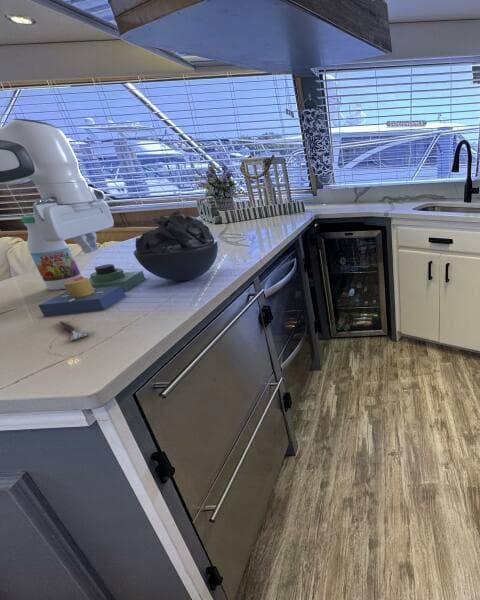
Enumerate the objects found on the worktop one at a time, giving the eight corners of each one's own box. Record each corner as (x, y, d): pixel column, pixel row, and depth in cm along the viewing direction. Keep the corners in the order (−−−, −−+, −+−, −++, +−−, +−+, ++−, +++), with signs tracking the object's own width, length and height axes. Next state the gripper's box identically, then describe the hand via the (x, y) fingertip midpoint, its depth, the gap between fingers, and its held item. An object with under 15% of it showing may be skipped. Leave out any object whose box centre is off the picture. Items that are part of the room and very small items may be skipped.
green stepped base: (75, 296, 85) (68, 280, 83) (100, 283, 94) (93, 269, 92) (127, 291, 87) (120, 275, 85) (145, 279, 96) (140, 264, 94)
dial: (86, 296, 75) (79, 281, 74) (65, 298, 75) (57, 283, 73) (98, 290, 79) (92, 275, 78) (78, 292, 79) (71, 277, 77)
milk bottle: (41, 289, 91) (4, 218, 83) (73, 280, 98) (42, 213, 90) (59, 291, 89) (22, 218, 81) (91, 282, 95) (60, 213, 88)
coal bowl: (192, 292, 84) (169, 219, 77) (127, 290, 87) (99, 220, 80) (239, 268, 102) (224, 208, 95) (183, 268, 105) (165, 209, 98)
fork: (69, 321, 70) (65, 313, 70) (93, 339, 62) (89, 330, 61) (53, 326, 68) (48, 317, 68) (76, 345, 60) (71, 336, 59)
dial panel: (44, 316, 73) (37, 304, 72) (72, 301, 81) (66, 290, 80) (104, 310, 75) (98, 298, 74) (125, 296, 83) (121, 284, 82)
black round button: (94, 276, 87) (91, 269, 86) (103, 272, 90) (100, 265, 89) (110, 274, 87) (107, 267, 86) (119, 270, 91) (116, 263, 90)
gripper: (47, 198, 69) (76, 260, 74) (108, 191, 87) (127, 242, 93) (13, 200, 68) (44, 263, 73) (81, 193, 86) (103, 244, 92)
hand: (91, 251), depth 83 cm, fingers closed
